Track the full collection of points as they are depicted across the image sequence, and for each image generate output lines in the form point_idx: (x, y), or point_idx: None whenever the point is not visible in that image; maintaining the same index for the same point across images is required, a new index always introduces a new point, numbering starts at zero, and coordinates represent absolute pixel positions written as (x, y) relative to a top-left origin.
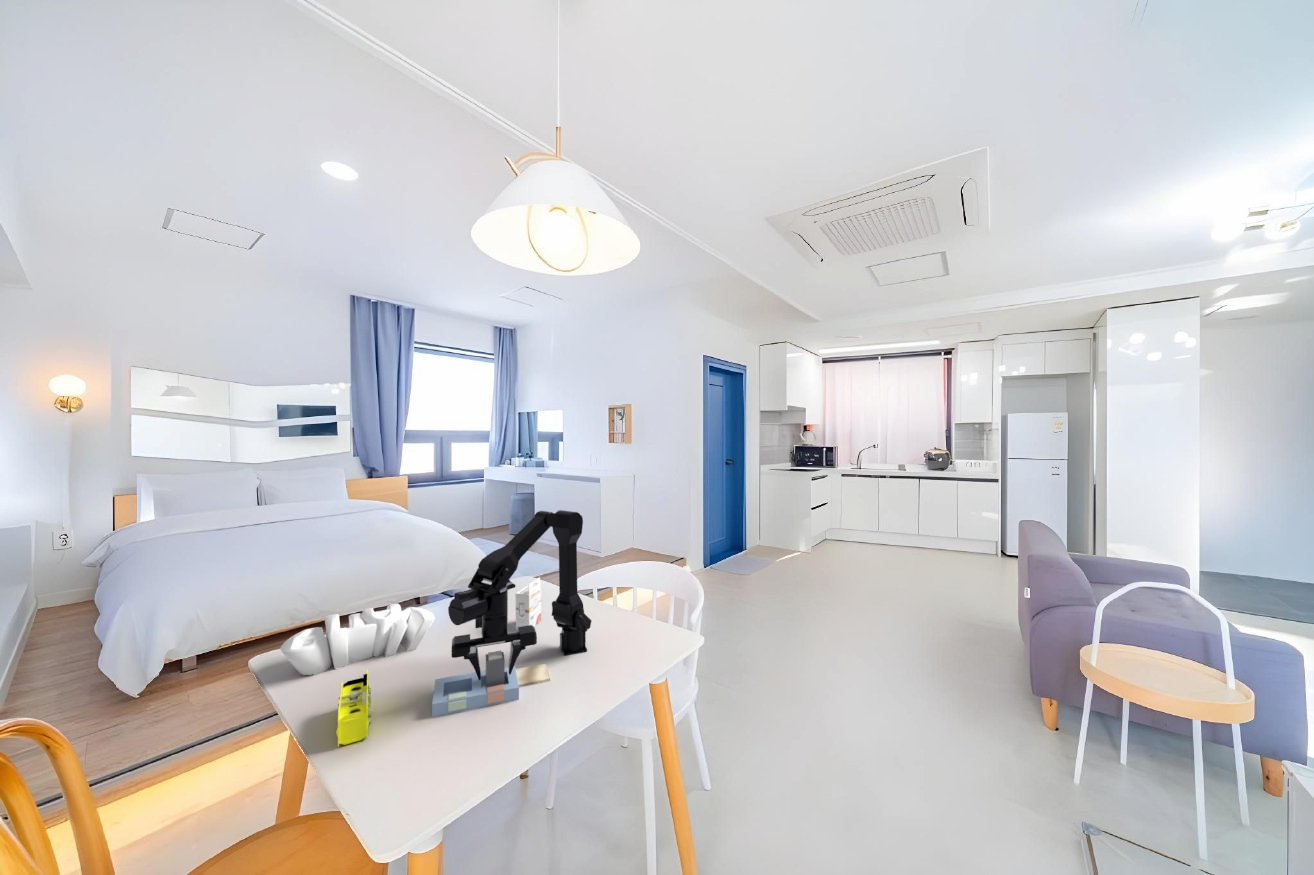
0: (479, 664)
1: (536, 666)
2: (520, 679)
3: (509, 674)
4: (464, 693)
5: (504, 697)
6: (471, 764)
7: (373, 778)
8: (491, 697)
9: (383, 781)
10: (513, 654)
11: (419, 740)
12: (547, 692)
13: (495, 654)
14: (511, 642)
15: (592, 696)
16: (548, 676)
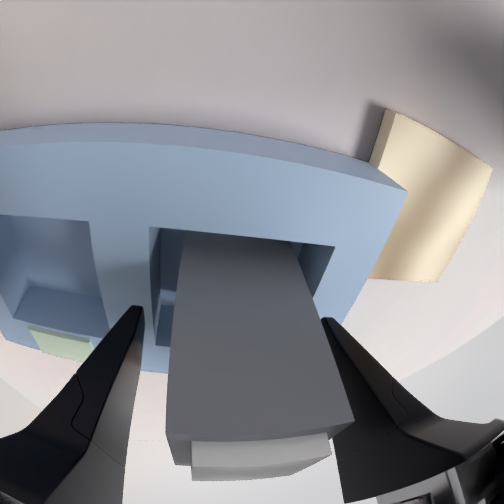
0: (120, 405)
1: (470, 166)
2: None
3: None
4: (86, 351)
5: None
6: (154, 423)
7: (23, 384)
8: None
9: (39, 394)
10: (345, 474)
11: (38, 357)
12: (385, 321)
13: (254, 475)
14: (425, 474)
15: (425, 354)
16: (443, 268)
